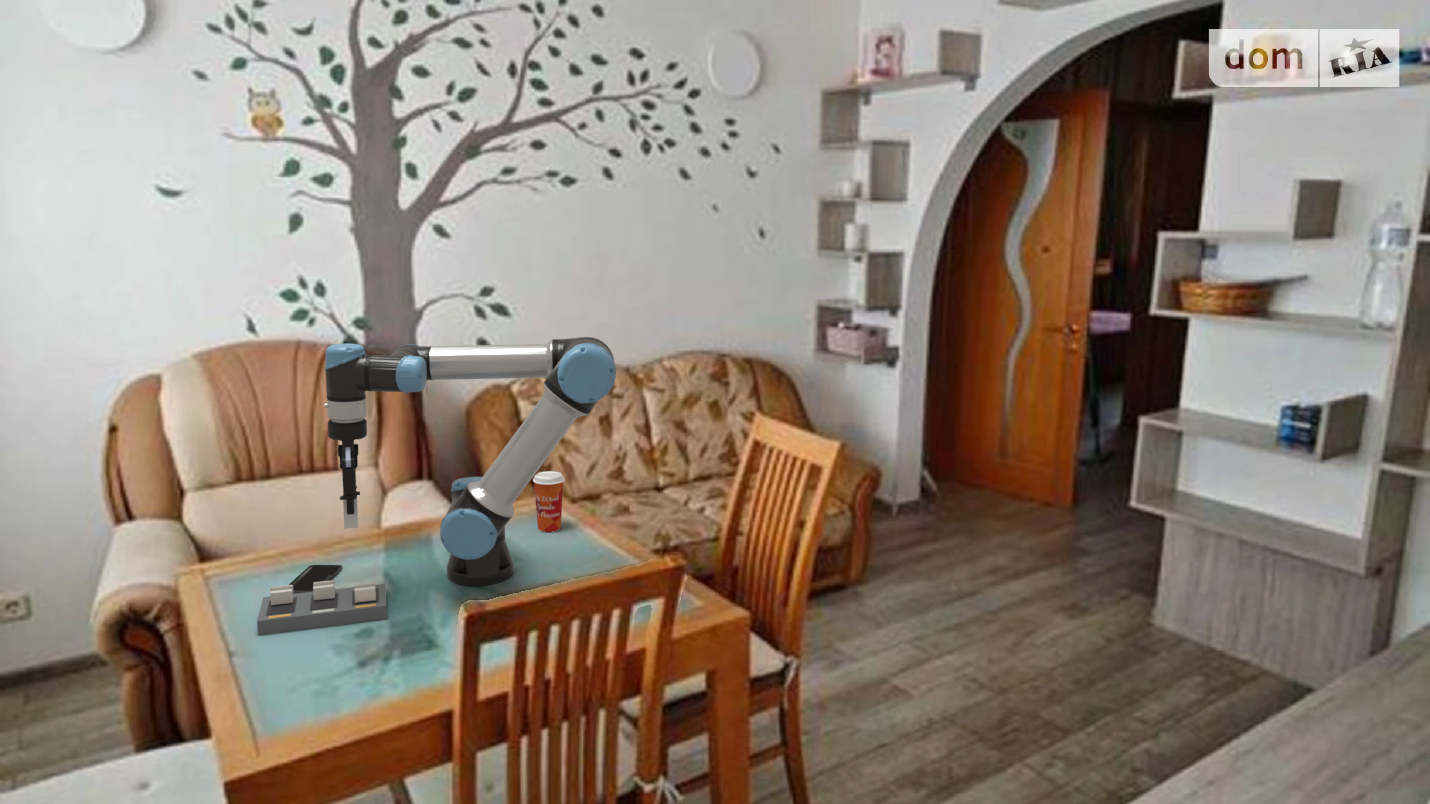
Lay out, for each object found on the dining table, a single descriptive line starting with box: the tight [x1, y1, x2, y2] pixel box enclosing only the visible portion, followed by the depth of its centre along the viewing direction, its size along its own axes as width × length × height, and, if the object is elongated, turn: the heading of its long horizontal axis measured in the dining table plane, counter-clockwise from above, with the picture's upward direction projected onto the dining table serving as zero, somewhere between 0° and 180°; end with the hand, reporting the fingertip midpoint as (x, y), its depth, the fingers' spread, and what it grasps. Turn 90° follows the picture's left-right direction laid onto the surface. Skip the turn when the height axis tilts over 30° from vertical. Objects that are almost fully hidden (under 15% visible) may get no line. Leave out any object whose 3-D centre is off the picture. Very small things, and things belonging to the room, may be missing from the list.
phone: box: [288, 564, 344, 594], centre depth 206 cm, size 8×1×15 cm
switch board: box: [256, 583, 388, 636], centre depth 189 cm, size 24×12×3 cm, turn 111°
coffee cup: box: [532, 470, 566, 533], centre depth 242 cm, size 8×8×15 cm
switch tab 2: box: [313, 579, 336, 600], centre depth 190 cm, size 4×3×3 cm
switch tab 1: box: [269, 584, 294, 605], centre depth 187 cm, size 4×3×3 cm
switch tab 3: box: [353, 581, 376, 603], centre depth 189 cm, size 4×3×3 cm
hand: (351, 526), depth 193 cm, fingers closed
